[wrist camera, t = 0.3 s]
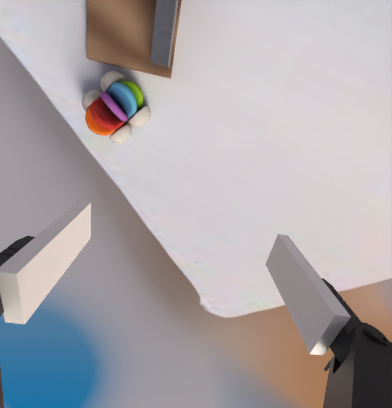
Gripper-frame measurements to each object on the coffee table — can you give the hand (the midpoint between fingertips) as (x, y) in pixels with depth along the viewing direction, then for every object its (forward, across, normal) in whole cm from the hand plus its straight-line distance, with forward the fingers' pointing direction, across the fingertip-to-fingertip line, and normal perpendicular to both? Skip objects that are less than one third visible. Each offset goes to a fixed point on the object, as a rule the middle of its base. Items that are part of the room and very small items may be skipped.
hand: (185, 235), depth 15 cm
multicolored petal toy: (+26, -12, +6) cm, 30 cm away
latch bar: (+25, -6, +17) cm, 31 cm away
